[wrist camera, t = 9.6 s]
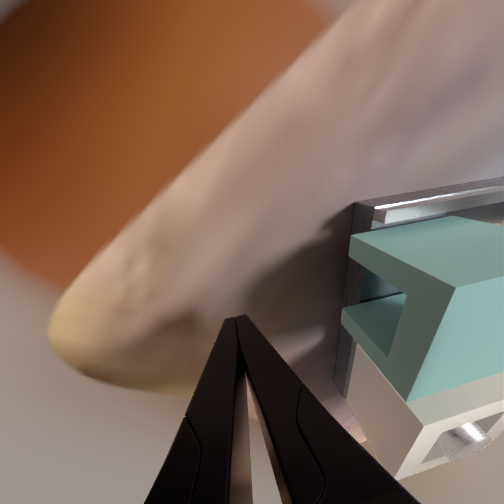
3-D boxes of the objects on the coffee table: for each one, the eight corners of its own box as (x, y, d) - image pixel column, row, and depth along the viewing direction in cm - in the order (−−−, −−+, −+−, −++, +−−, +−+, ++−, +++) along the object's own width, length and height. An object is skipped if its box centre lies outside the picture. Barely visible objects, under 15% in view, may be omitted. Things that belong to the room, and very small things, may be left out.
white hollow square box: (447, 319, 12) (547, 384, 8) (420, 379, 15) (486, 447, 11) (356, 343, 11) (423, 426, 8) (345, 401, 14) (391, 482, 10)
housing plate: (600, 160, 10) (958, 154, 5) (491, 335, 16) (612, 409, 11) (354, 201, 9) (547, 250, 4) (333, 381, 15) (395, 491, 10)
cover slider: (452, 215, 8) (614, 249, 5) (422, 302, 11) (520, 366, 7) (350, 235, 8) (456, 287, 4) (340, 322, 10) (405, 402, 7)
